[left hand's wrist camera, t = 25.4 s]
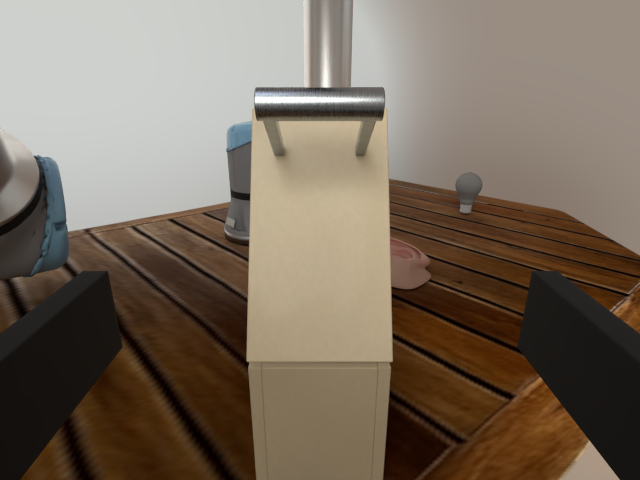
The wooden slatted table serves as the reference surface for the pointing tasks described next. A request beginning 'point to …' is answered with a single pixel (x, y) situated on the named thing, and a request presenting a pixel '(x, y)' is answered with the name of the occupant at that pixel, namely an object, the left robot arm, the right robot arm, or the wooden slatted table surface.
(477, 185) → the light bulb
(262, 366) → the chest
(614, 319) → the left robot arm
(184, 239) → the wooden slatted table surface
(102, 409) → the wooden slatted table surface
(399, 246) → the anatomical model
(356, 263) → the lid
